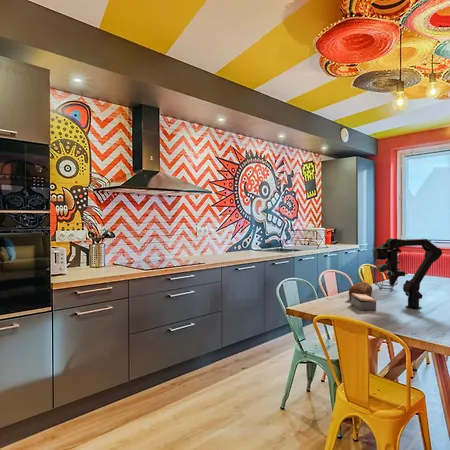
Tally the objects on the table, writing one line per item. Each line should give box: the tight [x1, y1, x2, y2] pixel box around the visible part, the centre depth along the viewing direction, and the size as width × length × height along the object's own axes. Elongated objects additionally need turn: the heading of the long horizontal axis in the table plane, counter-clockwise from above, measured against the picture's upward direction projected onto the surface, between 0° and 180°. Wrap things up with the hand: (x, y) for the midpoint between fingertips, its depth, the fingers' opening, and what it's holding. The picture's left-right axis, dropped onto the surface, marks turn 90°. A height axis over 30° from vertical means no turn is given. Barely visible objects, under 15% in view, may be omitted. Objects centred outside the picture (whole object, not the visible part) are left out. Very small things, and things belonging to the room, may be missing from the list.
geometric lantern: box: [371, 242, 398, 292], centre depth 256 cm, size 16×16×35 cm
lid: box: [351, 293, 377, 303], centre depth 205 cm, size 9×14×1 cm, turn 1°
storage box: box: [350, 297, 377, 312], centre depth 205 cm, size 9×14×5 cm, turn 1°
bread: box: [348, 281, 373, 301], centre depth 228 cm, size 19×11×10 cm, turn 142°
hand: (392, 285), depth 205 cm, fingers closed
